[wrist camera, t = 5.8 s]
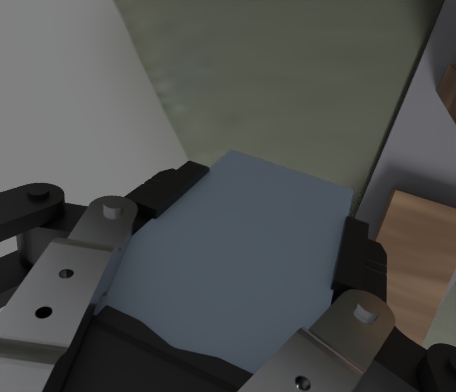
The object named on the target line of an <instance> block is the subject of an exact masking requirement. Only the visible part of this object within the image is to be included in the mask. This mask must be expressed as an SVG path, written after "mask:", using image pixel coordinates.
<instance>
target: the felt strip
mask: <svg viewBox="0 0 456 392" xmlns="http://www.w3.org/2000/svg"><path fill="white" fill-rule="evenodd" d="M448 64H449V65H454V66H456V0H445V1H444V4H443V6H442V9H441V11H440V14H439V16H438V18H437V21H436V23H435V26H434V28H433V30H432V33H431V35H430V38H429V40H428V42H427V45H426V47H425V50H424V52H423V54H422V57H421V59H420V62H419V64H418V66H417V69H416V71H415V74H414V76H413V78H412V81H411V83H410V86H409V88H408V90H407V93H406V95H405V98H404V100H403V102H402V105H401V107H400V110H399V112H398V114H397V117H396V119H395V122H394V124H393V126H392V129H391V131H390V134H389V136H388V138H387V141H386V143H385V146H384V148H383V150H382V153H381V155H380V158H379V160H378V162H377V165H376V167H375V170H374V172H373V174H372V177H371V179H370V182H369V184H368V186H367V189H366V191H365V194H364V196H363V198H362V201H361V203H360V206H359V208H358V211H357V213H356V215H355V219H358V220H361V221H364V222H367V223H369V232H368V239H370V240H372V239H373V236H374V234H375V231H376V229H377V226H378V223H379V221H380V218H381V216H382V213H383V211H384V208H385V206H386V203H387V200H388V198H389V195H390V193H391V190H392V188H395V189H399V190H402V191H405V192H408V193H411V194H415V195H418V196H421V197H424V198H427V199H430V200H434V201H437V202H440V203H443V204H446V205H450V206H453V207H456V125H455V123H454V121H453V119H452V118H451V116H450V114H449V113H448V111H447V109H446V108H445V106H444V104H443V102H442V101H441V99H440V97H439V96H438V94H437V92H436V91H437V89H438V86H439V84H440V82H441V80H442V78H443V75H444V73H445V71H446V69H447V67H448ZM455 281H456V268H455V271H454V273H453V275H452V277H451V280H450V282H449V284H448V286H447V289H446V291H445V293H444V295H443V298H442V300H441V302H440V304H439V306H440V305H441V303H442V302H443V300H444V298H445V297H446V295H447V294H448V292H449V291H450V289H451V288H452V286H453V284H454V283H455ZM438 308H439V307H438Z"/></svg>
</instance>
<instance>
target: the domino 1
mask: <svg viewBox="0 0 456 392" xmlns="http://www.w3.org/2000/svg"><path fill="white" fill-rule="evenodd" d="M209 169H210V171H209V172H208V173H207V174H206V175H205V176H204V177H203V178H201V179H200V180H199V181H198V182H197V183H196V184H195V185H194V186H193V187H191V188H190V189H189V190H188V191H187V192H186V193H185V194H184V195H183V196H181V197H180V198H179V199H178V200H177V201H176V202H175V203H174V204H173V205H171V206H170V207H169V208H168V209H167V210H166V211H165V212H164V213H163V214H161V215H160V216H159V217H158V218H157V219H156V220H155V219H153V218H152V219H151V220H150V221H149V222H148V223H146V224H145V225H144V226H143V227H142V228H141V229H140V230H138V231H137V232H136V233H135V234H134V235H133V236H132V237H131V239H130V242H129V244H128V246H127V249H126V251H125V254H124V256H123V259H122V261H121V263H120V266H119V268H118V271H117V273H116V275H115V278H114V280H113V283H112V285H111V288H110V290H109V292H108V295H107V296H103V295H101V297H100V300H99V302H98V304H97V306H96V309H95V311H94V313H93V315H97V314H98V313H99V312H100V311H101V310H102V309H103V308H104V307H105V306H106V305H108V306H110V307H113V308H115V309H117V310H119V311H121V312H123V313H125V314H127V315H130V316H132V317H134V318H136V319H138V320H140V321H142V322H143V323H144V324H145V325H147V326H148V327H149V328H150V329H151V330H153V331H154V332H155V333H156V334H157V335H159V336H160V337H161V338H162V339H164V340H165V341H166V342H167V343H168V344H170V345H171V346H173V347H175V348H178V349H183V350H187V351H192V352H196V353H201V354H205V355H210V356H214V357H219V358H221V359H223V360H225V361H227V362H229V363H231V364H233V365H236V366H238V367H240V368H242V369H244V370H246V371H248V372H250V373H253V374H255V373H256V372H257V371H258V370H259V369H260V368H261V367H262V366H263V365H264V364H265V363H266V362H267V361H268V360H269V359H270V358H271V357H272V356H273V355H274V354H275V353H276V352H277V351H278V350H279V349H280V348H281V347H282V345H283V344H284V343H285V342H286V341H287V340H288V339H289V338H290V337H291V336H292V335H293V334H294V333H295V332H296V331H297V330H298V329H300V328H301V327H303V326H304V327H305V328H307V329H309V328H310V327H311V326H312V325H313V324H314V323H315V322H316V321H317V320H318V319H319V318H320V316H321V315H322V314H323V313H324V312H325V311H326V310H327V309H328V308H329V307H330V305H331V300H332V295H333V290H331V289H330V287H331V282H332V278H333V273H334V268H335V264H336V259H337V254H338V250H339V245H340V240H341V236H342V231H343V226H344V222H345V218H346V216H349V211H350V206H351V201H352V196H353V191H354V190H353V189H350V188H347V187H344V186H341V185H338V184H335V183H332V182H329V181H326V180H323V179H320V178H317V177H314V176H311V175H308V174H305V173H302V172H298V171H295V170H292V169H289V168H286V167H283V166H280V165H277V164H274V163H271V162H268V161H265V160H262V159H259V158H256V157H253V156H250V155H247V154H244V153H241V152H238V151H235V150H232V149H231V150H229V151H228V152H227V153H226V154H225V155H224V156H223V157H221V158H220V159H219V160H218V161H217V162H216V163H215V164H214V165H212V166H211V167H210V168H209Z"/></svg>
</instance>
